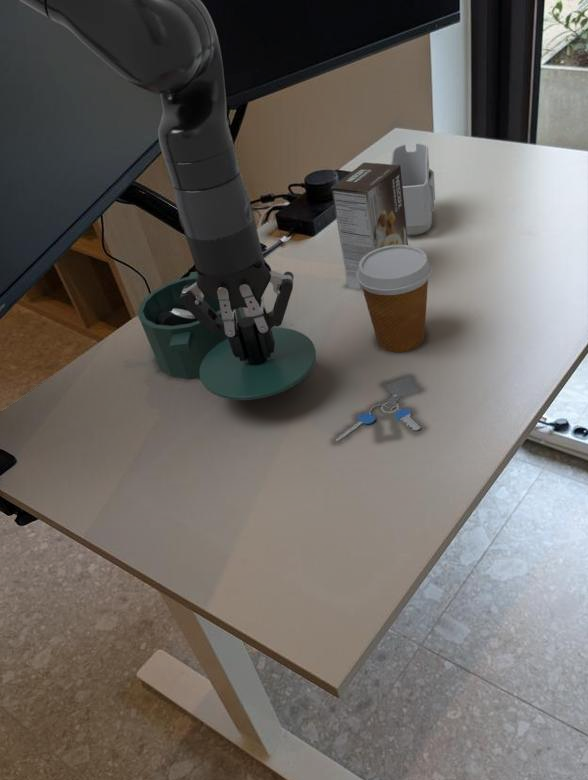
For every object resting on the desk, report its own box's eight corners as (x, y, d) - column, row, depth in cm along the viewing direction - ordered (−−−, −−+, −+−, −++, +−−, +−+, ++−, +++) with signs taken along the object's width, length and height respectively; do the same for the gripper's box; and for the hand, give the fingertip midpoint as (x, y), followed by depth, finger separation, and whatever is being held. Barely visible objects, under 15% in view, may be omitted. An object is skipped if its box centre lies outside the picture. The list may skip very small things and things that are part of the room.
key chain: (396, 377, 88) (395, 371, 87) (453, 393, 84) (452, 387, 83) (334, 443, 80) (333, 438, 80) (394, 464, 76) (393, 459, 76)
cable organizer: (396, 246, 113) (388, 173, 105) (399, 213, 122) (393, 143, 113) (436, 243, 112) (432, 168, 104) (437, 210, 121) (433, 139, 112)
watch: (169, 314, 93) (155, 299, 94) (158, 343, 95) (144, 328, 96) (213, 319, 99) (199, 305, 100) (201, 346, 101) (188, 332, 102)
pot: (148, 399, 92) (124, 346, 86) (170, 323, 105) (151, 273, 99) (246, 386, 91) (229, 332, 85) (256, 311, 104) (242, 260, 98)
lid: (194, 411, 81) (176, 365, 76) (209, 342, 91) (194, 298, 86) (316, 396, 80) (306, 349, 75) (317, 328, 90) (308, 283, 86)
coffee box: (376, 262, 110) (364, 160, 99) (411, 268, 107) (402, 164, 96) (346, 290, 105) (329, 186, 94) (382, 297, 102) (368, 191, 91)
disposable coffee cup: (354, 341, 95) (340, 262, 86) (409, 315, 98) (402, 235, 89) (392, 372, 89) (382, 289, 80) (450, 343, 92) (446, 260, 83)
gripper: (284, 196, 74) (311, 332, 86) (160, 214, 75) (204, 345, 87) (281, 226, 69) (310, 366, 81) (147, 245, 70) (197, 380, 82)
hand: (255, 355), depth 84 cm, fingers closed on lid, 2 cm apart
